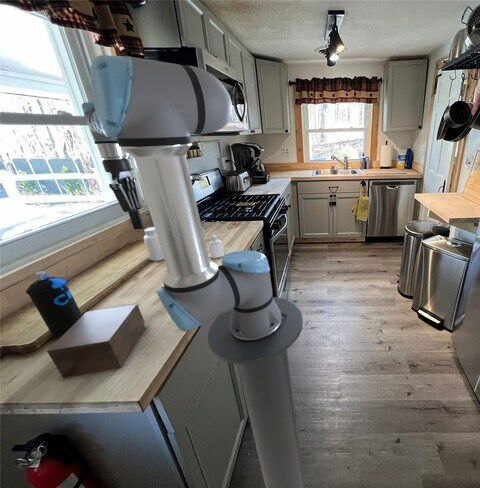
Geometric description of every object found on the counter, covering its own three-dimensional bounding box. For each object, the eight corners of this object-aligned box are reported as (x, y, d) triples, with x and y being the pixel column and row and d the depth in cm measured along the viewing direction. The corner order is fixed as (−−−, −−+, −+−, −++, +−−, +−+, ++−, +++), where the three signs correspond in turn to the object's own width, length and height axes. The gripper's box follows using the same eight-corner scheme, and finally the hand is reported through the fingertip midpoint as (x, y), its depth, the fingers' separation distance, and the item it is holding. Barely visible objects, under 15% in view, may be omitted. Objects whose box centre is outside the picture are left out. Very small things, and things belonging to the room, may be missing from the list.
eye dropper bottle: (221, 258, 122) (216, 235, 117) (210, 258, 123) (204, 235, 118) (225, 254, 126) (220, 231, 121) (215, 254, 127) (209, 231, 122)
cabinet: (98, 335, 77) (86, 311, 73) (145, 328, 79) (136, 304, 75) (63, 378, 63) (46, 351, 60) (121, 367, 66) (108, 341, 62)
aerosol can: (45, 342, 75) (9, 283, 67) (60, 324, 82) (29, 269, 74) (80, 333, 78) (50, 276, 70) (91, 317, 85) (65, 263, 77)
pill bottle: (156, 262, 121) (146, 232, 115) (147, 259, 124) (136, 230, 118) (172, 256, 127) (164, 227, 121) (163, 252, 131) (154, 224, 125)
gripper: (113, 157, 87) (136, 224, 96) (89, 160, 75) (118, 236, 84) (137, 156, 88) (158, 222, 97) (118, 159, 76) (143, 233, 85)
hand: (139, 228), depth 91 cm, fingers closed
